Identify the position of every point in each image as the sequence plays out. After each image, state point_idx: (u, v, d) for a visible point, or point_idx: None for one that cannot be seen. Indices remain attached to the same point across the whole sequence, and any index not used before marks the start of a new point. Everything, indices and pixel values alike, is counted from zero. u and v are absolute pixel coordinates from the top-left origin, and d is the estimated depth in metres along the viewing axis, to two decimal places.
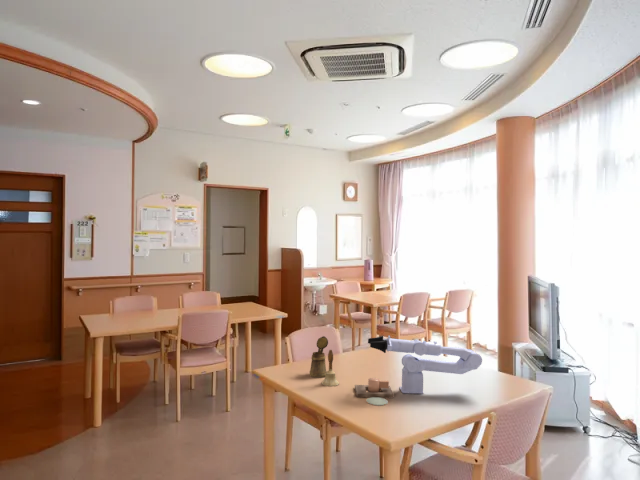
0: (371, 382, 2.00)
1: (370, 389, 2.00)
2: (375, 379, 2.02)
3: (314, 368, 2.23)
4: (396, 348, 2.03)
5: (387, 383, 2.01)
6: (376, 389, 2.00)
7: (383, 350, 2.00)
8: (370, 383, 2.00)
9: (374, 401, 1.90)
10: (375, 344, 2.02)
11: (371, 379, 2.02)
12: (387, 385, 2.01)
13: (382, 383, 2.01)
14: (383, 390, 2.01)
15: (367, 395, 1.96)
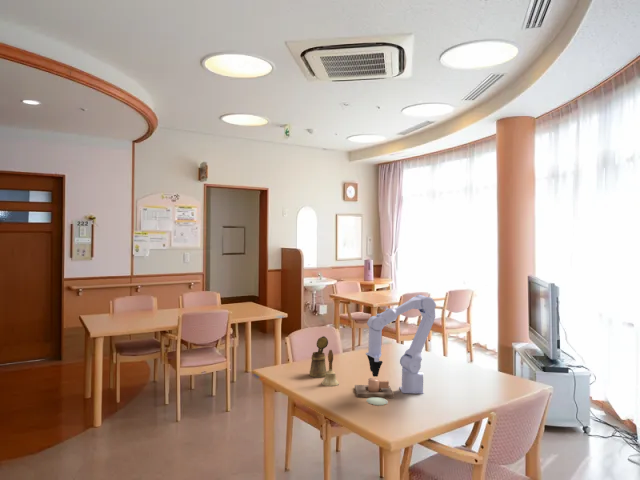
0: (371, 382, 2.00)
1: (370, 389, 2.00)
2: (375, 379, 2.02)
3: (314, 368, 2.23)
4: (377, 348, 1.99)
5: (387, 383, 2.01)
6: (376, 389, 2.00)
7: (380, 364, 1.96)
8: (370, 383, 2.00)
9: (374, 401, 1.90)
10: (374, 371, 1.98)
11: (371, 379, 2.02)
12: (387, 385, 2.01)
13: (382, 383, 2.01)
14: (383, 390, 2.01)
15: (367, 395, 1.96)
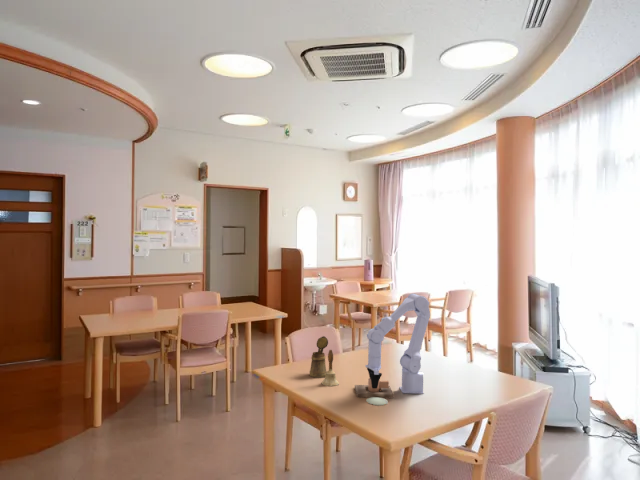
0: None
1: (370, 389, 2.00)
2: None
3: (314, 368, 2.23)
4: (376, 360, 1.99)
5: (387, 383, 2.01)
6: (376, 389, 2.00)
7: (379, 376, 1.97)
8: (370, 383, 2.00)
9: (374, 401, 1.90)
10: (374, 383, 1.99)
11: None
12: (387, 385, 2.01)
13: (382, 383, 2.01)
14: (383, 390, 2.01)
15: (367, 395, 1.96)
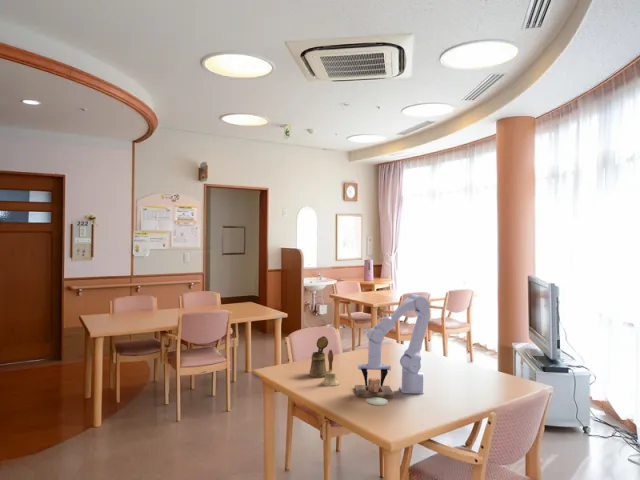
0: None
1: None
2: (374, 380, 2.01)
3: (314, 368, 2.23)
4: (368, 358, 2.01)
5: (374, 386, 1.96)
6: (369, 388, 2.01)
7: None
8: None
9: (374, 401, 1.90)
10: (365, 380, 2.02)
11: (374, 378, 2.03)
12: (374, 388, 1.96)
13: (373, 385, 1.98)
14: (383, 390, 2.01)
15: (367, 395, 1.96)
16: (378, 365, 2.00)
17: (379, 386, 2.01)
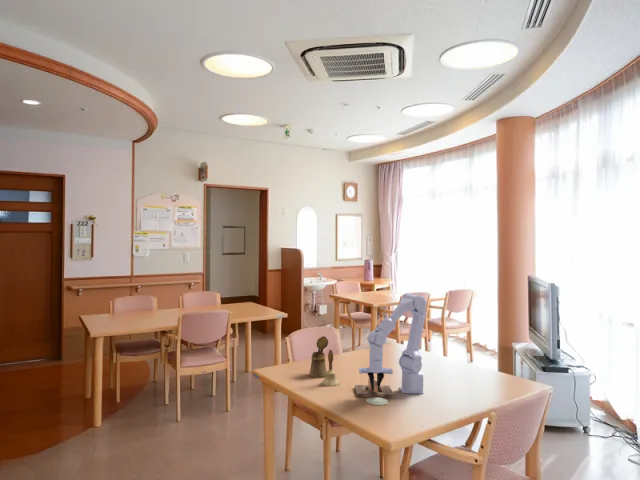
0: None
1: None
2: (374, 380, 2.01)
3: (314, 368, 2.23)
4: (369, 362, 1.97)
5: None
6: (368, 388, 2.01)
7: (369, 377, 1.96)
8: None
9: (374, 401, 1.90)
10: None
11: None
12: None
13: None
14: (383, 390, 2.01)
15: (367, 395, 1.96)
16: (379, 369, 1.95)
17: None
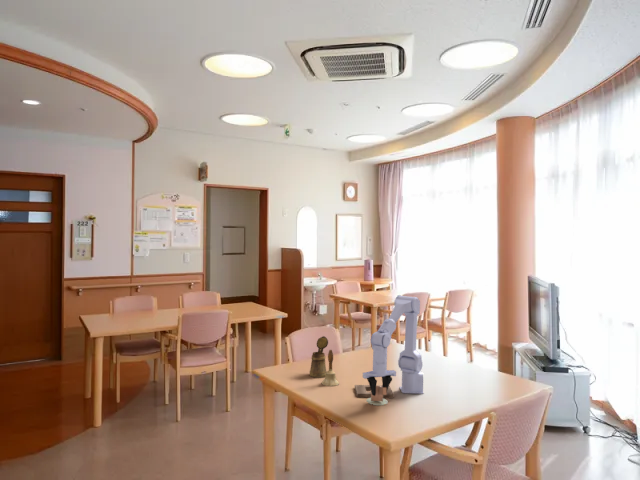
0: None
1: None
2: None
3: (314, 368, 2.23)
4: (374, 365, 1.85)
5: (382, 389, 1.84)
6: None
7: (371, 382, 1.83)
8: None
9: (374, 401, 1.90)
10: (372, 389, 1.86)
11: None
12: (382, 391, 1.84)
13: (379, 389, 1.86)
14: None
15: (367, 395, 1.96)
16: (385, 372, 1.85)
17: None
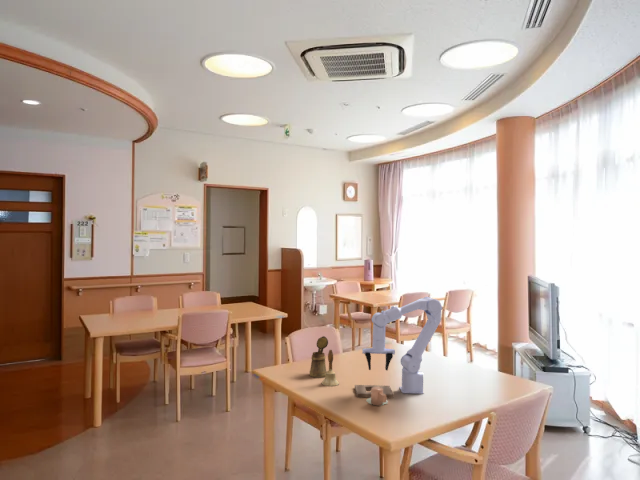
0: (371, 389, 1.89)
1: None
2: (378, 389, 1.88)
3: (314, 368, 2.23)
4: None
5: (382, 397, 1.82)
6: (373, 398, 1.87)
7: (366, 357, 2.02)
8: None
9: None
10: None
11: (376, 388, 1.89)
12: (382, 399, 1.82)
13: (379, 395, 1.84)
14: (383, 390, 2.01)
15: (367, 395, 1.96)
16: (382, 349, 2.02)
17: None
